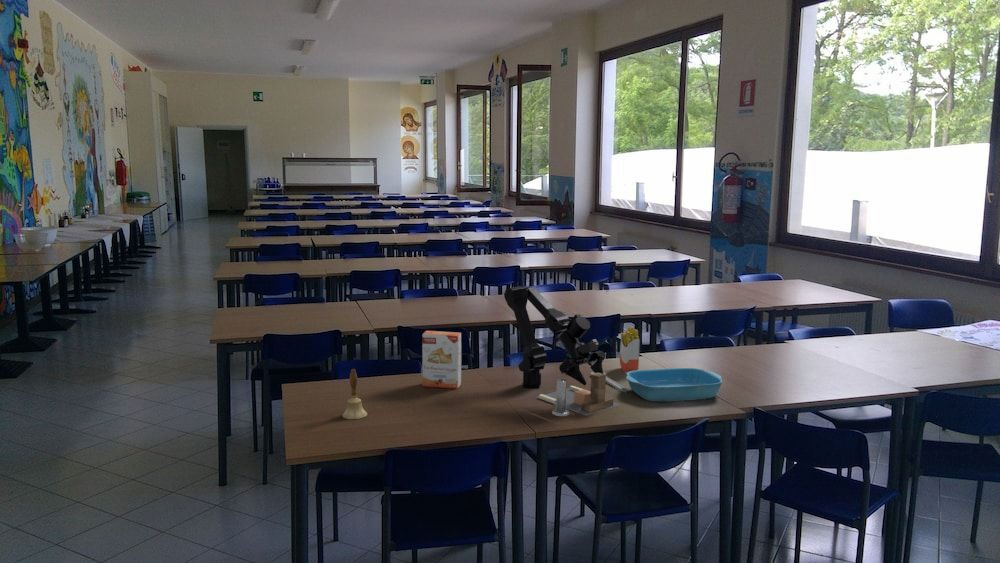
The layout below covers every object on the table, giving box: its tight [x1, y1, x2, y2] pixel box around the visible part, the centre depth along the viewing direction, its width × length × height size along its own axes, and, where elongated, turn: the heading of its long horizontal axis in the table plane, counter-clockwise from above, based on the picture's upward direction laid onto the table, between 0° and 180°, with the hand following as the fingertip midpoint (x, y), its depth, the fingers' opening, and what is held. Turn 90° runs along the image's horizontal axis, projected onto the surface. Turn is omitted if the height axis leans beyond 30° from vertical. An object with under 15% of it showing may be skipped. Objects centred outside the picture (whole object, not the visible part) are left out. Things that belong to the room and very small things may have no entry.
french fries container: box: [619, 326, 641, 374], centre depth 298 cm, size 5×11×18 cm, turn 10°
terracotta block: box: [574, 388, 591, 405], centre depth 258 cm, size 5×5×4 cm
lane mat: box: [535, 385, 622, 417], centre depth 260 cm, size 25×18×2 cm
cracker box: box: [421, 330, 462, 390], centre depth 276 cm, size 14×6×21 cm, turn 80°
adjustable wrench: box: [590, 371, 629, 393], centre depth 283 cm, size 25×6×2 cm, turn 16°
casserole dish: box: [625, 367, 723, 403], centre depth 270 cm, size 37×22×7 cm, turn 104°
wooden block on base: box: [581, 372, 614, 413], centre depth 252 cm, size 4×12×12 cm, turn 130°
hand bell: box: [342, 368, 368, 420], centre depth 244 cm, size 8×8×16 cm
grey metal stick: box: [551, 378, 570, 417], centre depth 246 cm, size 6×6×12 cm
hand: (594, 382), depth 253 cm, fingers open, 9 cm apart
